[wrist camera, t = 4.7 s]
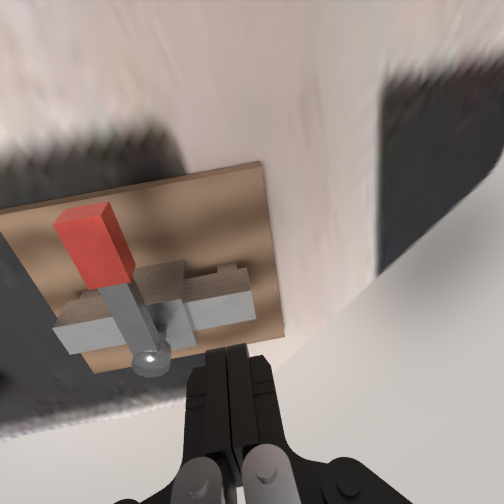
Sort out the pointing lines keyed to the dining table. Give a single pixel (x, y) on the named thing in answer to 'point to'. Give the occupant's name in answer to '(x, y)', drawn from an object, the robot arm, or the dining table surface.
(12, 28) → the dining table surface
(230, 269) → the steel pipe and valve
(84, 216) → the lever
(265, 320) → the walnut board
